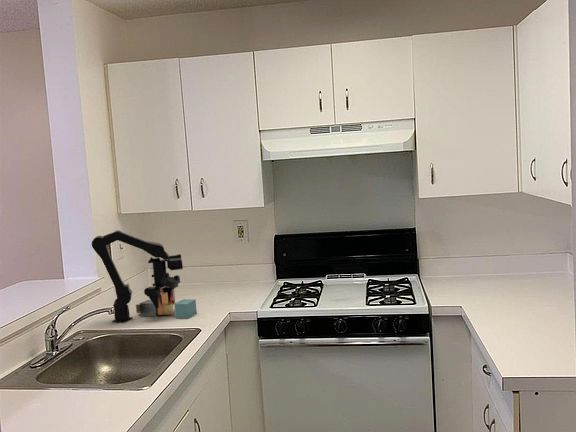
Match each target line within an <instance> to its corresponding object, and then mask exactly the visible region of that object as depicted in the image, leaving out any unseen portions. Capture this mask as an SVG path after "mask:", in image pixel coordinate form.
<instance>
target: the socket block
mask: <svg viewBox="0 0 576 432" xmlns="http://www.w3.org/2000/svg"><path fill="white" fill-rule="evenodd" d="M174 312H175V313H174V315H175V319H185V320H186V319H187V320H189V318H192V317H194V315H197V314H198V313H197V301H196V299H193V298H192V299H191V298H190V299H189V298H188V299H186V298H183V299H181V300H180V301H177V302H174Z"/></svg>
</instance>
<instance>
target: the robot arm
mask: <svg viewBox="0 0 576 432" xmlns="http://www.w3.org/2000/svg"><path fill="white" fill-rule="evenodd" d="M117 241H120V242H122V243H124V244H127V245H130V246H131V247H134V248H137V249H140V250H143V251H144V252H146V253H147V254H149V255H150V258H149V259H148V260H147V263H148V264H152V273H153V274H151V278H153V282H154V283H152V286H148V287H145V288H144V290H143V293H144V295H145V296H146V297H148V299H149V300H151V301H152V303H153V304H154V306H155V307H156V308H159V296H160V295H161V294H160V291H161V289H163V292H167V293H168V303H170V299H171V295H172V291H173V290H174V291H175V289H176V288H178V287H179V284H180V283H181V279H180V275H177V274H176V275H174V276H171V275H170V273H169V272H167V269H168V270H170V271H178V270H179V271H181V270H184V269H183V265H184V264H183V260H182V255H181V253H180V254H176V255H175V254H174V255H169V253H167V252H166V250H165V248H164V245H163V244H162V243H159V242H154V241H146V240H144V239H141V238H139V237H135V236H133V235H132V234H128V233H126V232H123V231H121V230H115V231H113V232H110V233H108V234H105V235H97V236H95V237H94V238H93V240H92V241H91V248H92V249H93V250H94V252H95V253H96V254H97V256H99V257H100V259H101V261H102V263H103V265H104V267H105V269H106V271H107V273H108V276H109V277H110V280H111V282H112V284H113V286H114V289H115V296H116V299H115V300H114V301H113V305H112V307H113V309H114V308H115V313H114V312H113V314H114V319H113V320H111V322H113V323H126V322H128V321H130V320H131V319H133V317H132V316H131V315H130V307H129V304H130V302H131V300H132V295H133V293H132V292H133V290H132V289H131V287H130V284H129V283H127V284H126V283H125V282H124V281H123V279H122V277H121V276H120V273H119V271H118V269H117V267H116V264H115V262H114V260H113V258H112V256H111V253H110V249H109V245H110V244H113V243H115V242H117ZM166 263H167V265H166Z"/></svg>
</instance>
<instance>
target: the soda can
mask: <svg viewBox="0 0 576 432" xmlns="http://www.w3.org/2000/svg"><path fill="white" fill-rule="evenodd" d="M162 292H163V289H161V291H160V293H162ZM170 303H173V304H175V303H176V296H175V289H174V290H173V291H172V295H171V299H170Z"/></svg>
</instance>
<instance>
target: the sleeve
mask: <svg viewBox="0 0 576 432" xmlns="http://www.w3.org/2000/svg"><path fill="white" fill-rule="evenodd" d="M139 303H140V310H141V313H140V316H141V317H148V318H149V317H150V318H151V317H154V318H155V317H158V316H160V315H159V314H157V312H156V307H155V306H154V304H153V303H152V301H151V300H150V299H146V300H145V301H142V303H141V302H139Z"/></svg>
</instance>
